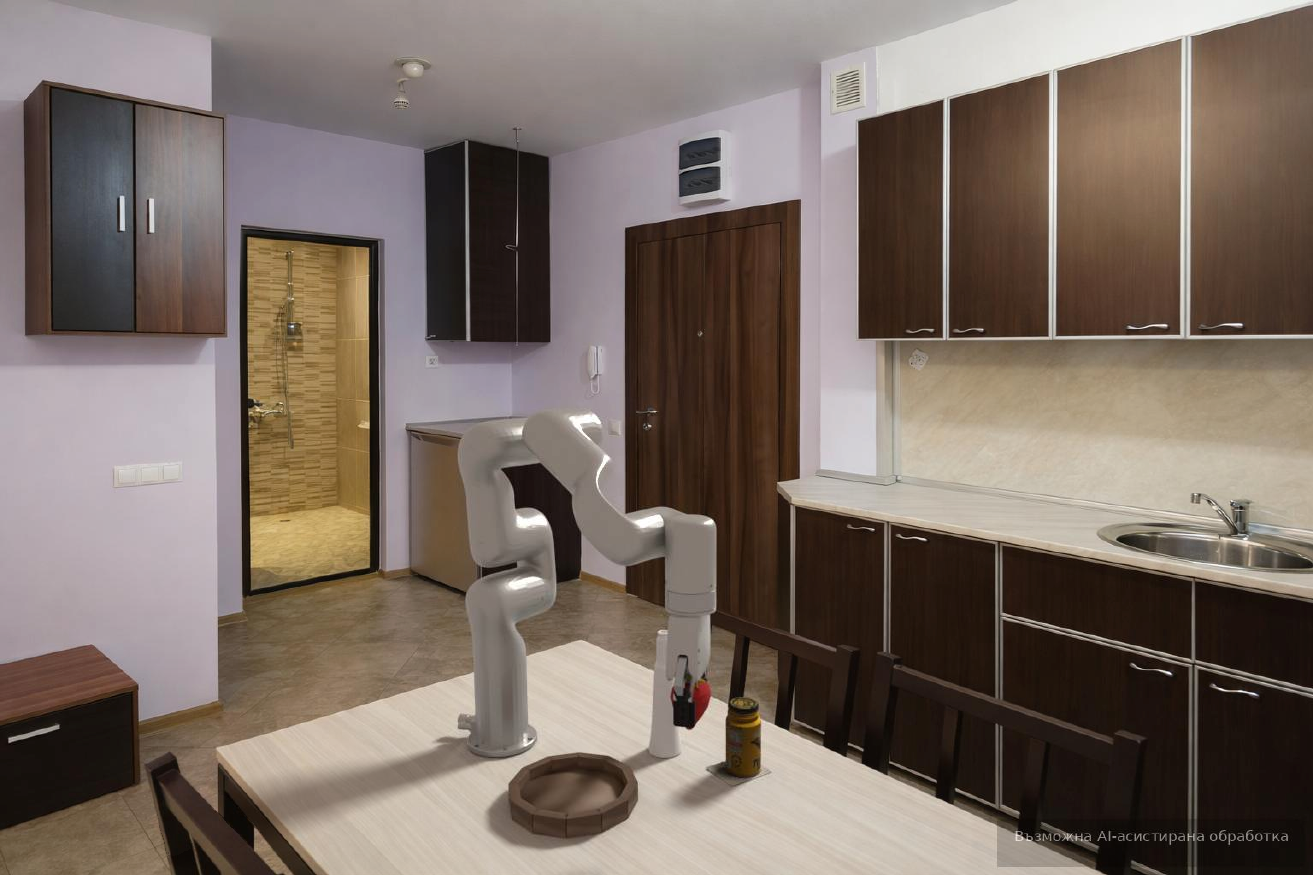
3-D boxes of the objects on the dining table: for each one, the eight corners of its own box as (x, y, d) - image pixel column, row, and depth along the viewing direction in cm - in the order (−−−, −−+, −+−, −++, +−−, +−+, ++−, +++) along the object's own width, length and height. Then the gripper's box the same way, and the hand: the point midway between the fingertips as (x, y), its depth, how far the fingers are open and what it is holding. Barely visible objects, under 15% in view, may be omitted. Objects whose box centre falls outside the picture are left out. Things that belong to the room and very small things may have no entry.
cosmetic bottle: (655, 740, 154) (653, 624, 151) (686, 745, 152) (685, 627, 149) (643, 755, 148) (642, 635, 146) (675, 760, 146) (674, 638, 144)
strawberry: (716, 721, 127) (716, 658, 126) (702, 743, 120) (702, 676, 119) (679, 715, 129) (679, 653, 128) (663, 737, 122) (663, 671, 121)
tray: (488, 826, 126) (487, 807, 126) (540, 763, 145) (539, 747, 145) (613, 845, 121) (613, 825, 121) (650, 777, 140) (650, 760, 140)
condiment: (771, 772, 142) (771, 704, 140) (732, 787, 137) (732, 717, 136) (744, 755, 148) (744, 690, 146) (705, 768, 143) (705, 701, 142)
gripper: (679, 581, 132) (679, 688, 134) (650, 615, 115) (650, 737, 117) (726, 585, 130) (725, 693, 132) (703, 620, 113) (703, 743, 115)
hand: (690, 713), depth 124 cm, fingers closed on strawberry, 7 cm apart
